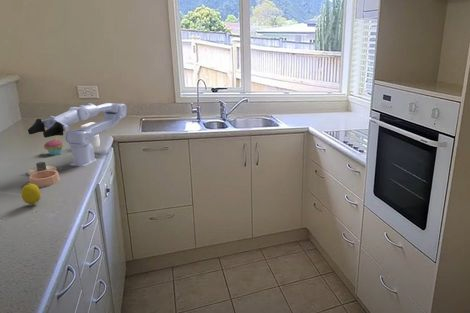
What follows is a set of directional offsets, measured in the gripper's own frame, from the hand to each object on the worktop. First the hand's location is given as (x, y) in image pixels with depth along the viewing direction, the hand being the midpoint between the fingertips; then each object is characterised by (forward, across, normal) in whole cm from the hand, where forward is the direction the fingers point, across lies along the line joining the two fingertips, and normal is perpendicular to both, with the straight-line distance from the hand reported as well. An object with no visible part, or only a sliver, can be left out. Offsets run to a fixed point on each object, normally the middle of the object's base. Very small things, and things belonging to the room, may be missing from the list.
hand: (36, 133), depth 131 cm
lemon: (+22, +17, +15) cm, 31 cm away
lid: (-2, -6, +20) cm, 21 cm away
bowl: (+6, +4, +18) cm, 20 cm away
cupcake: (-24, -22, +26) cm, 41 cm away
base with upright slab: (-41, -15, +28) cm, 52 cm away
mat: (-2, -6, +20) cm, 21 cm away
